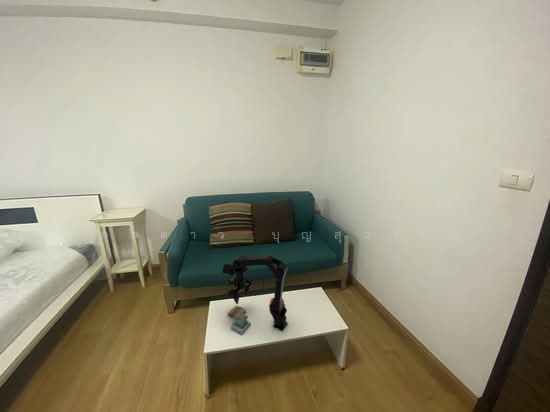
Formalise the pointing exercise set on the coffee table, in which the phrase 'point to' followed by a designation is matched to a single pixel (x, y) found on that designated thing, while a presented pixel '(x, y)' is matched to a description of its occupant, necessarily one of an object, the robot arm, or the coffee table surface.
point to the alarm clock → (273, 298)
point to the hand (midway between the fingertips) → (241, 299)
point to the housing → (240, 320)
